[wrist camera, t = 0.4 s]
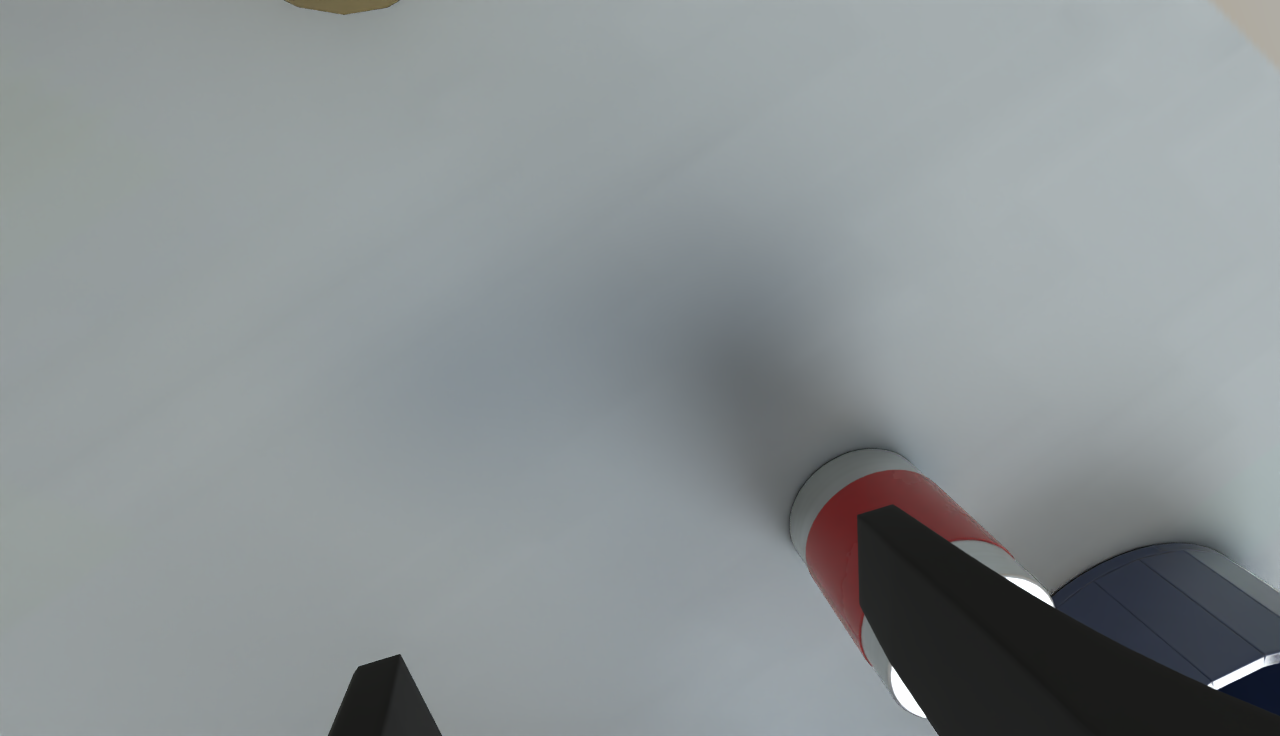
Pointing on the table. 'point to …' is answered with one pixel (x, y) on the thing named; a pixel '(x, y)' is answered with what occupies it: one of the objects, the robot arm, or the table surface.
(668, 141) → the table surface
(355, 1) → the cork
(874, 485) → the can
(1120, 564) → the dark blue round bowl
